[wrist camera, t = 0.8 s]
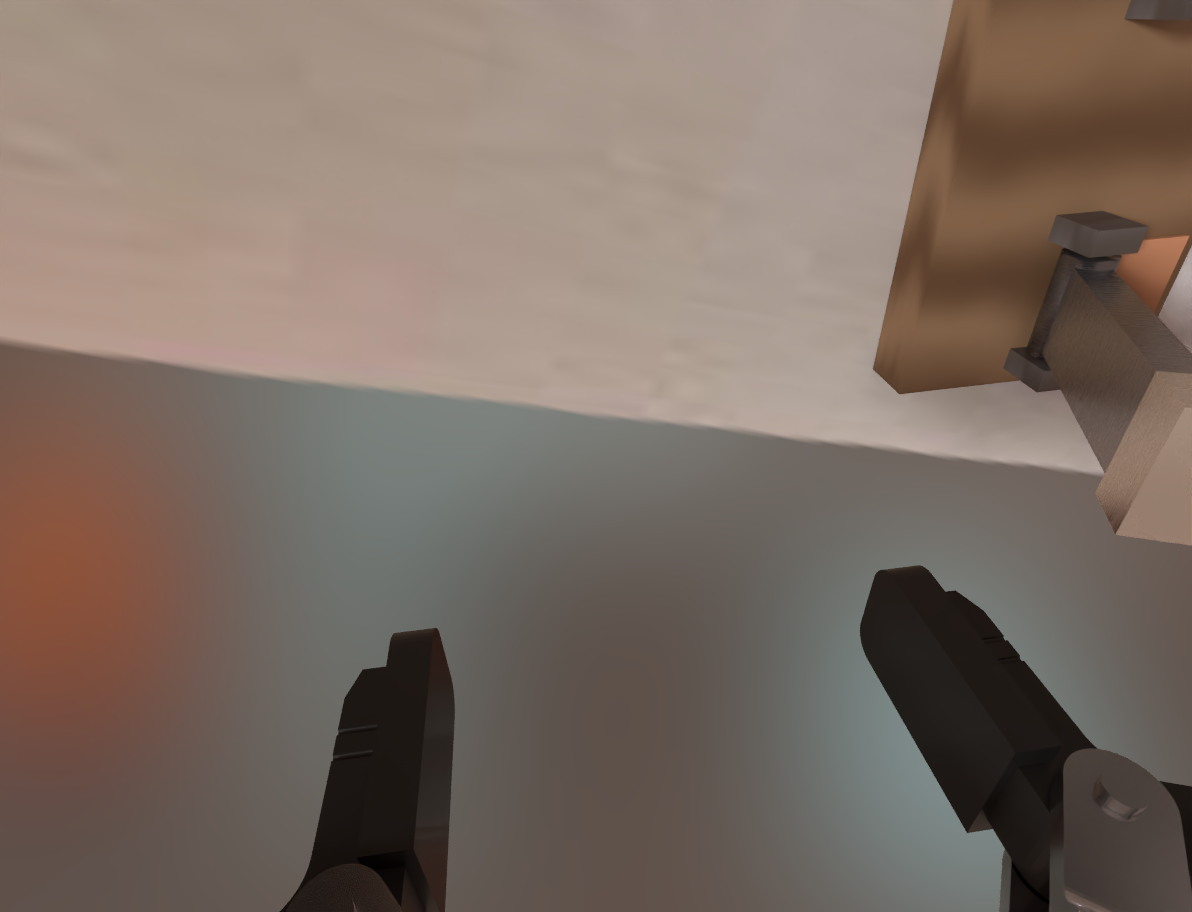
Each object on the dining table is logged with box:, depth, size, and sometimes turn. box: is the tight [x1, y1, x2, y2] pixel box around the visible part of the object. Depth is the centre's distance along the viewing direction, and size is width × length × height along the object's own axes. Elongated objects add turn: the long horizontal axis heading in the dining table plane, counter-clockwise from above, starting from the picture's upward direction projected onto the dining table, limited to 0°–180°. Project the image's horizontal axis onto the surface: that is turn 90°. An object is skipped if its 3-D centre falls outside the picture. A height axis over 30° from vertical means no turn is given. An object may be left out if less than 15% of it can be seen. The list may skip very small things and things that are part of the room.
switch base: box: [873, 0, 1192, 394], centre depth 29 cm, size 26×14×6 cm, turn 3°
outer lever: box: [1026, 248, 1192, 545], centre depth 27 cm, size 5×2×16 cm, turn 3°
